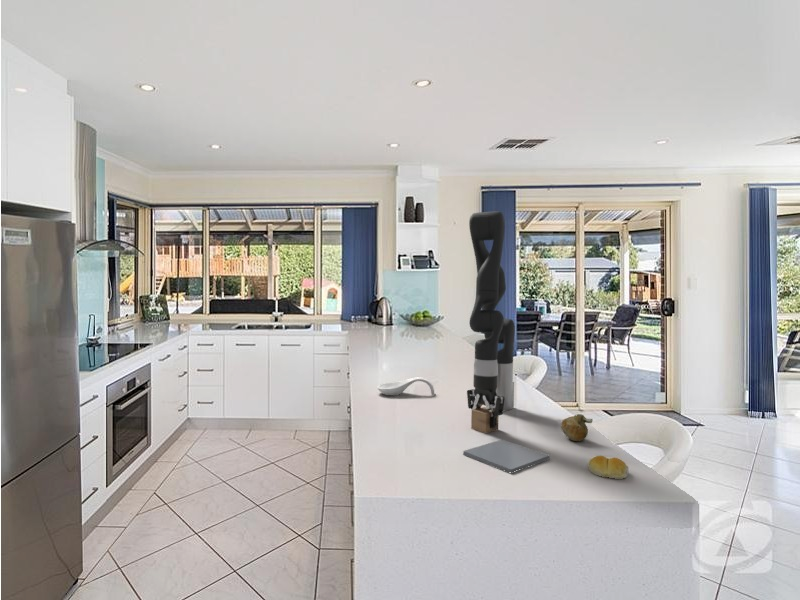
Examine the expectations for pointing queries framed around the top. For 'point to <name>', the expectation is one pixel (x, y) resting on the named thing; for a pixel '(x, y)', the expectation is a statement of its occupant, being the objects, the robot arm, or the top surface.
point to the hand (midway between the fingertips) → (484, 425)
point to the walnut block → (482, 420)
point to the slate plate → (506, 455)
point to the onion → (575, 427)
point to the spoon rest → (401, 386)
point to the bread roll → (608, 467)
